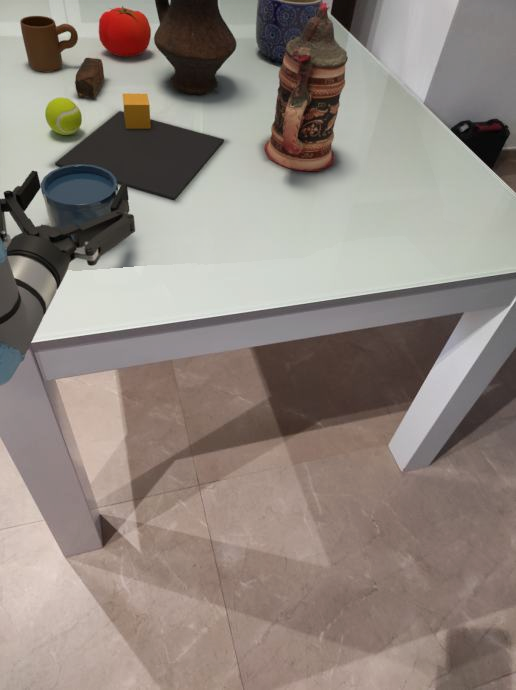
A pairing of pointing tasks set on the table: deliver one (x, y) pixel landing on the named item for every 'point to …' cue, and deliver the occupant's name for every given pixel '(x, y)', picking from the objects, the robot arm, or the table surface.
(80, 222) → the blue paint bucket
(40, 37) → the mug
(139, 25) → the tomato
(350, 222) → the table surface
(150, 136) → the mat
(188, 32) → the jug
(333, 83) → the beer stein
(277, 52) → the planter
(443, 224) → the table surface
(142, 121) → the block
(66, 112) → the tennis ball
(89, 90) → the brick
